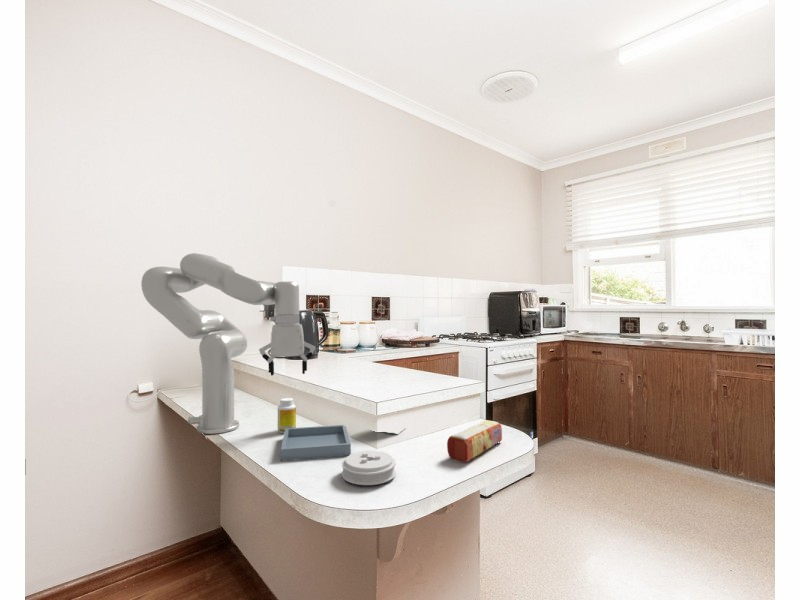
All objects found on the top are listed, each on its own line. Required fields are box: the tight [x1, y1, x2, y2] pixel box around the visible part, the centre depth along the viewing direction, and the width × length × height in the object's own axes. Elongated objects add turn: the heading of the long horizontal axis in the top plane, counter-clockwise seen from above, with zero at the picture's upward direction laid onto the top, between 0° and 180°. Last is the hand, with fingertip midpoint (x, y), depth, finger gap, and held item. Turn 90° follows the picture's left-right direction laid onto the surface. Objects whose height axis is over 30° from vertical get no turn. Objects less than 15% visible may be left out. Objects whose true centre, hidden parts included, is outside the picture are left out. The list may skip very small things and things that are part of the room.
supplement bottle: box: [277, 397, 297, 435], centre depth 130 cm, size 6×6×10 cm
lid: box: [341, 450, 397, 486], centre depth 96 cm, size 13×13×5 cm
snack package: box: [446, 419, 503, 463], centre depth 113 cm, size 21×7×7 cm, turn 141°
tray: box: [280, 424, 352, 461], centre depth 116 cm, size 18×18×3 cm
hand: (288, 374), depth 130 cm, fingers open, 9 cm apart
